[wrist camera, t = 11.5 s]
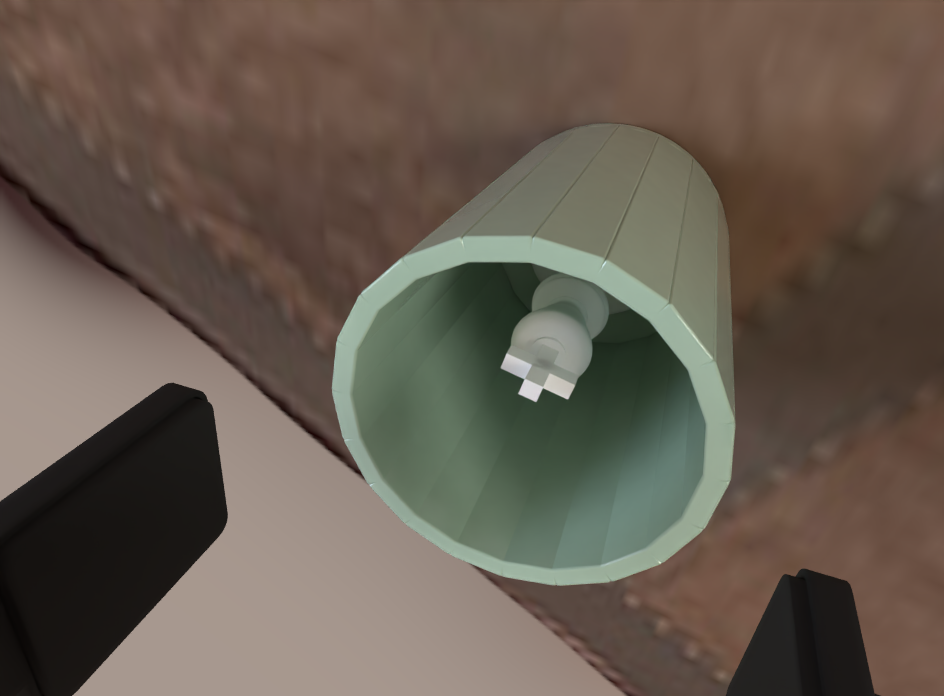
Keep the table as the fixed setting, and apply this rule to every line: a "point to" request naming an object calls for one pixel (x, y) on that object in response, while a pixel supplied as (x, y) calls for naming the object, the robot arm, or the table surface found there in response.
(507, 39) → the table surface
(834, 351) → the table surface
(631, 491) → the tube
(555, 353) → the chess piece
